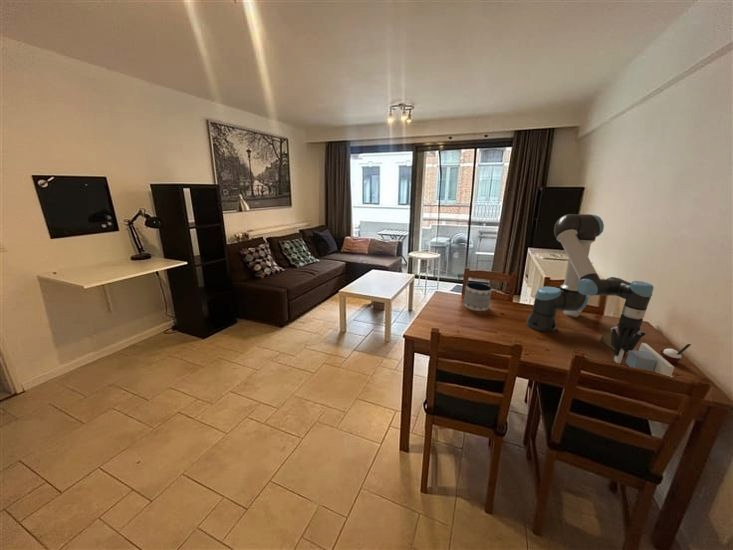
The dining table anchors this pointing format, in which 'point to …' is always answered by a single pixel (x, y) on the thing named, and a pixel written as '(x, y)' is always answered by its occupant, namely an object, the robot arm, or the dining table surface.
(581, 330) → the dining table surface
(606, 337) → the rock
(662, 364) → the board
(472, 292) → the planter
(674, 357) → the cocoa
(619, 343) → the robot arm
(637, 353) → the block
